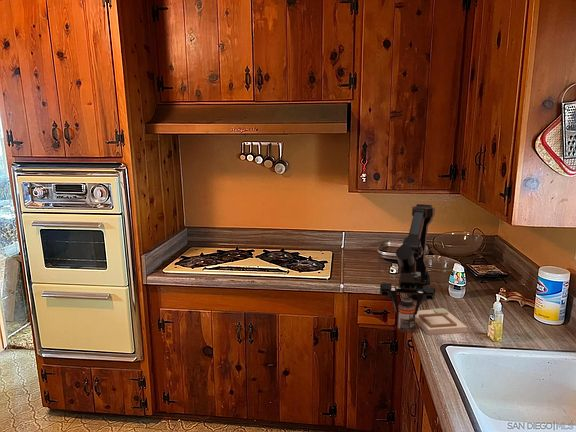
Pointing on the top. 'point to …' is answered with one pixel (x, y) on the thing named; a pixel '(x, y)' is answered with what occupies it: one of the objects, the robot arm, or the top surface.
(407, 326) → the supplement bottle
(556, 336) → the top surface
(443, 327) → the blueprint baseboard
